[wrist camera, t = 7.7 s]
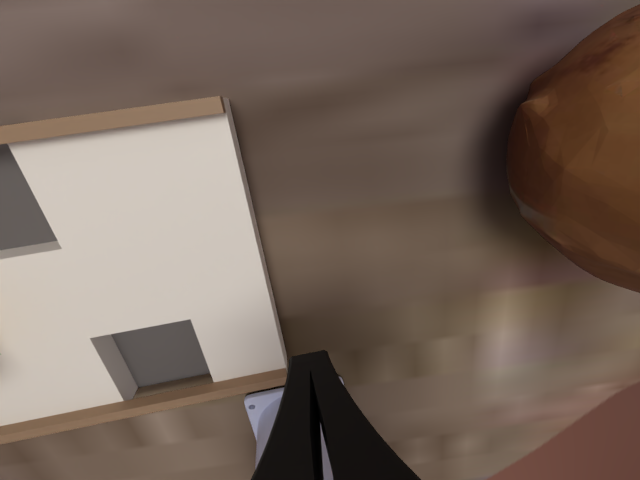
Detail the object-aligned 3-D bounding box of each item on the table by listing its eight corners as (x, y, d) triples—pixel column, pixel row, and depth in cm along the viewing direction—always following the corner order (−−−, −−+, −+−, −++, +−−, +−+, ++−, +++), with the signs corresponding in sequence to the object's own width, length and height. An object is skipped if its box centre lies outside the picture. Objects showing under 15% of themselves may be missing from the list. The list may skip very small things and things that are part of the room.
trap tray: (286, 354, 24) (288, 396, 20) (-19, 416, 22) (-74, 473, 18) (228, 98, 16) (216, 95, 13) (-232, 161, 15) (-388, 177, 11)
